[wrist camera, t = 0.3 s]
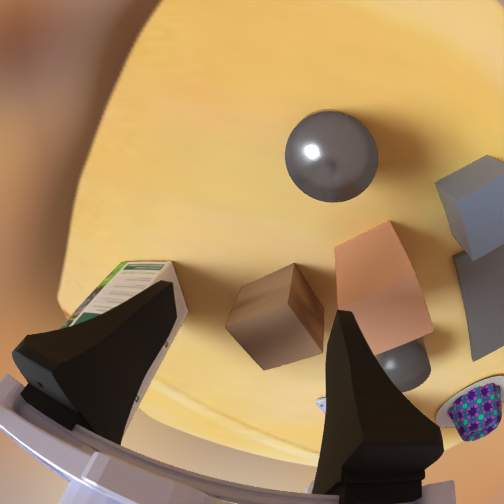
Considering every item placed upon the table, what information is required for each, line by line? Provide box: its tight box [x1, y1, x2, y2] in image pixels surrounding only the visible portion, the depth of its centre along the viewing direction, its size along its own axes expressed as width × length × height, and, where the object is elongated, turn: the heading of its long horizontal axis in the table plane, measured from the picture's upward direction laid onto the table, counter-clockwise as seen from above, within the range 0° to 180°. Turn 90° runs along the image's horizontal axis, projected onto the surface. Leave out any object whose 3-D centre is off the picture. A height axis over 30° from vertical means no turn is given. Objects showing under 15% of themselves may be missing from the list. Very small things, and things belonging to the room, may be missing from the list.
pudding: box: [435, 376, 504, 441], centre depth 25 cm, size 12×12×5 cm
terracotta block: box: [334, 221, 434, 355], centre depth 18 cm, size 4×4×7 cm
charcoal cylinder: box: [375, 337, 431, 392], centre depth 22 cm, size 5×5×4 cm
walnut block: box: [225, 263, 324, 370], centre depth 22 cm, size 5×5×5 cm
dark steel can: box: [285, 109, 378, 202], centre depth 15 cm, size 4×4×6 cm
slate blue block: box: [435, 155, 504, 261], centre depth 15 cm, size 4×5×4 cm
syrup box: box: [60, 261, 188, 435], centre depth 20 cm, size 6×6×14 cm
